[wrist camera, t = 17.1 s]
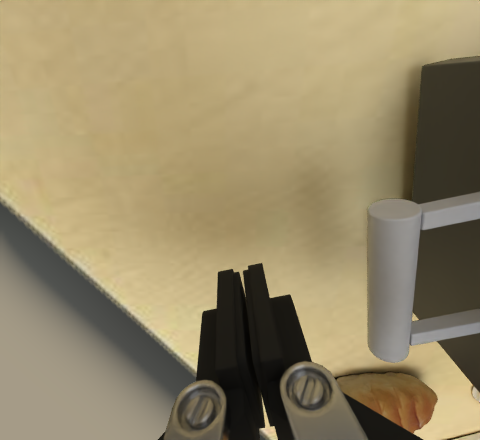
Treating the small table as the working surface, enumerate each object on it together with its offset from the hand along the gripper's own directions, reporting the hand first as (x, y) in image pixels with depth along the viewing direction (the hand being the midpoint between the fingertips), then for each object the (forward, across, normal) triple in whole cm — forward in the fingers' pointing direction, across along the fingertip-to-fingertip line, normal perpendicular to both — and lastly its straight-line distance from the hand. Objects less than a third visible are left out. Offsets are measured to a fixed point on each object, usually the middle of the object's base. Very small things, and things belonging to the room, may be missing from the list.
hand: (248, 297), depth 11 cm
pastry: (+5, -6, +16) cm, 18 cm away
